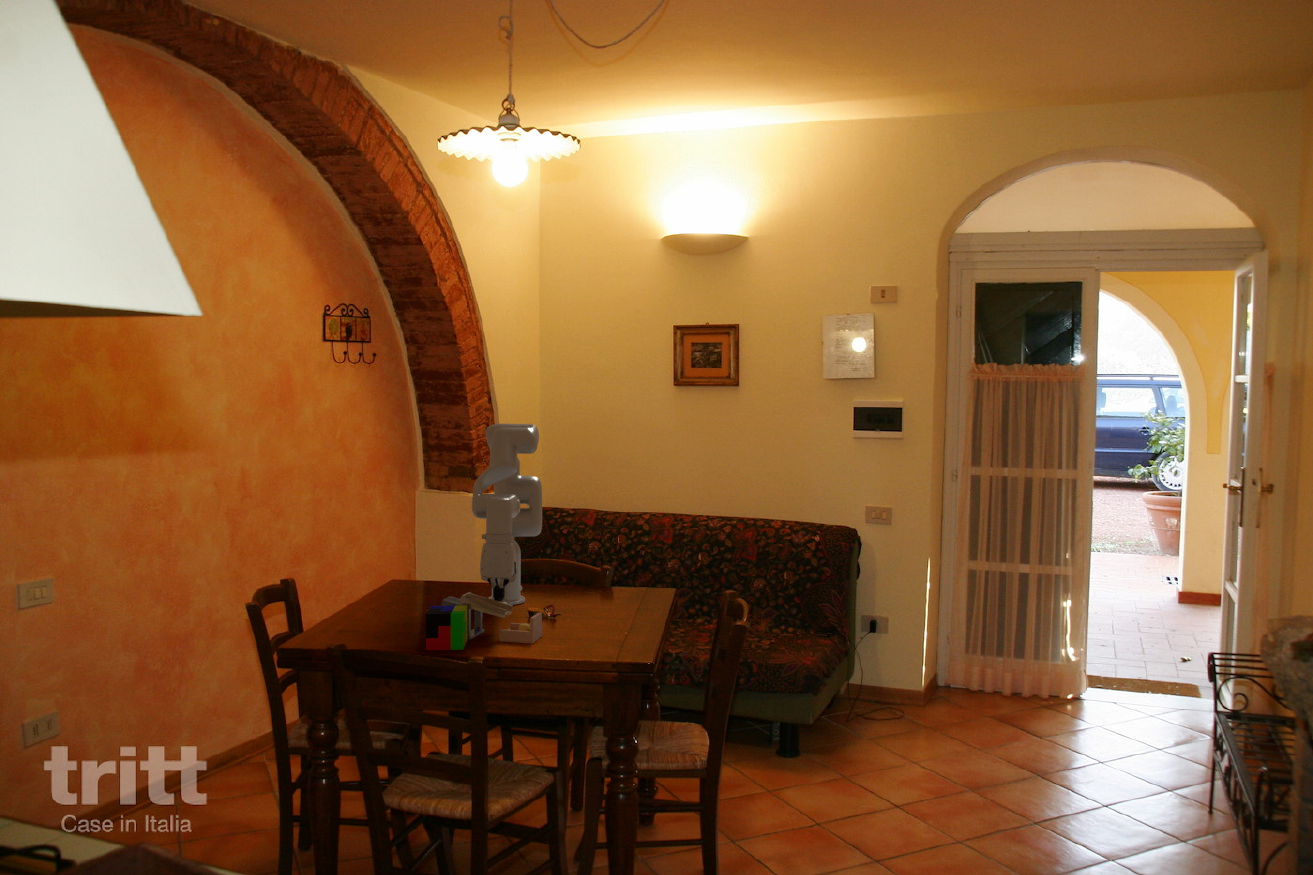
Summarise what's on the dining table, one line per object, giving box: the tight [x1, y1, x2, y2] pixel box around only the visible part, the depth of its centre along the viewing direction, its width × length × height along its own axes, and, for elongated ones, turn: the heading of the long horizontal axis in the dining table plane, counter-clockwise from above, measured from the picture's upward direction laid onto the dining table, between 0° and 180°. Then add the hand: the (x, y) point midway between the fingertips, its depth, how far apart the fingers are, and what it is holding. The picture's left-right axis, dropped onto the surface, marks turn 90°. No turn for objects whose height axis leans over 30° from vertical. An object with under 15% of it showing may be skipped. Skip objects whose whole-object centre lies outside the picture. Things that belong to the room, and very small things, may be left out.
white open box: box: [499, 612, 544, 645], centre depth 269 cm, size 9×10×7 cm
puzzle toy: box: [425, 605, 468, 651], centre depth 262 cm, size 10×10×10 cm
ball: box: [518, 623, 530, 631], centre depth 269 cm, size 4×4×4 cm
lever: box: [441, 591, 514, 619], centre depth 275 cm, size 12×20×7 cm, turn 77°
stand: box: [463, 603, 486, 640], centre depth 273 cm, size 10×3×10 cm, turn 167°
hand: (498, 600), depth 277 cm, fingers closed
